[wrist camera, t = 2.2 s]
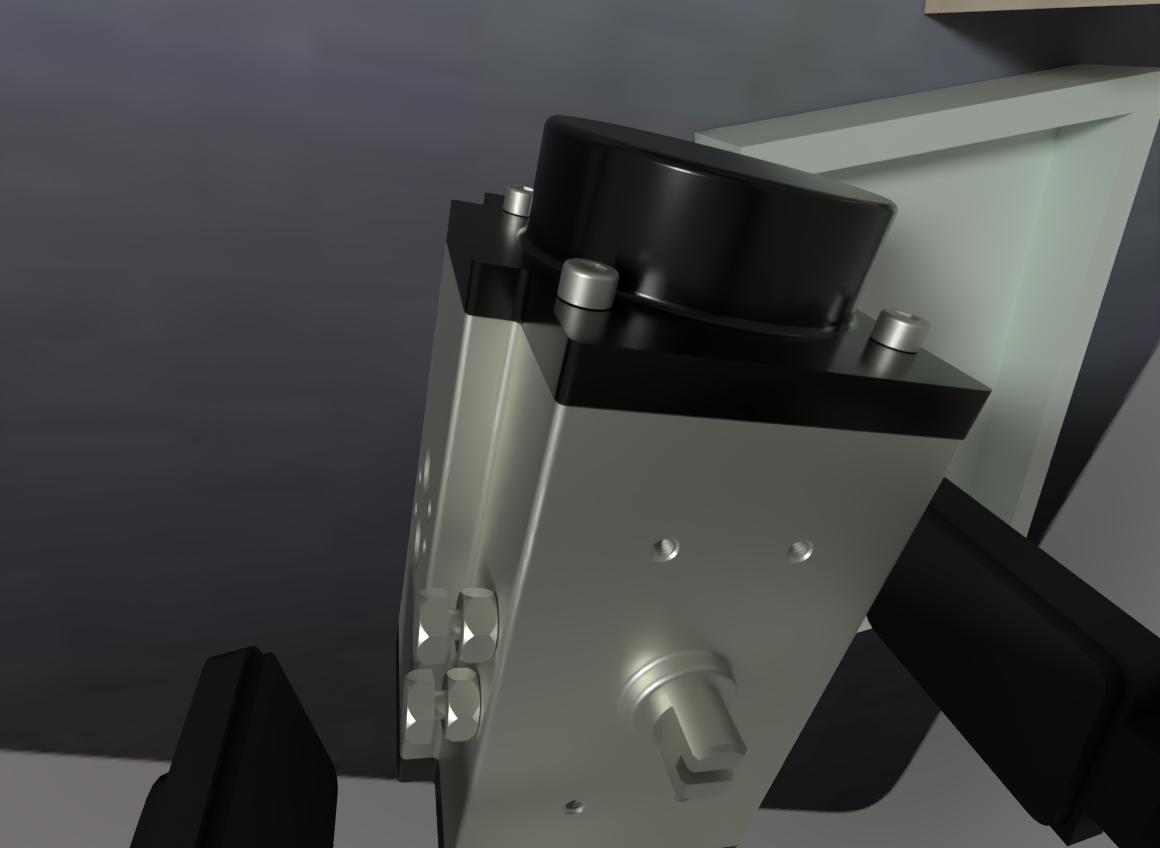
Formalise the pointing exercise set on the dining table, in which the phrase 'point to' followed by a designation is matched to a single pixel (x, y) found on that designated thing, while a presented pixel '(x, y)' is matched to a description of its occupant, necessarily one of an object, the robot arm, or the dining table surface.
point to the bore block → (1019, 4)
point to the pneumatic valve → (652, 488)
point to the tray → (990, 236)
